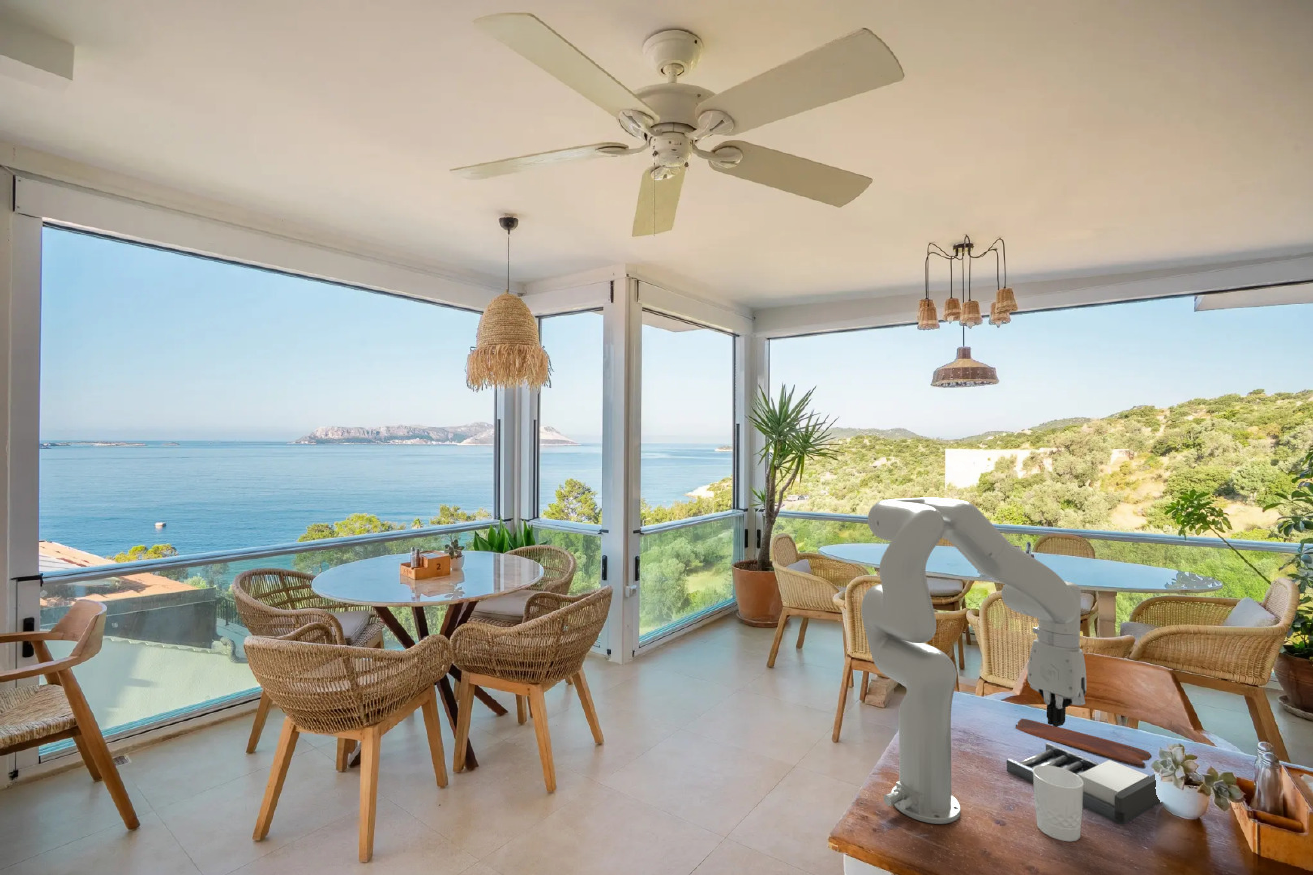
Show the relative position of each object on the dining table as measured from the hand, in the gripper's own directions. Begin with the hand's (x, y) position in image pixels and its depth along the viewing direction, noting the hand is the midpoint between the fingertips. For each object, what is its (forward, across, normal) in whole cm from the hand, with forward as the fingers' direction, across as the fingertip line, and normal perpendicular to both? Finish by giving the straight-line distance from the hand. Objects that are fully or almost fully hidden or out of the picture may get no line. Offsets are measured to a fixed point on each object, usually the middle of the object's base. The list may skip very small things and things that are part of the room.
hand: (1055, 724), depth 131 cm
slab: (+9, +10, +2) cm, 14 cm away
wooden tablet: (+11, -6, +22) cm, 26 cm away
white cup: (+12, +11, -18) cm, 24 cm away
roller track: (+11, +4, +2) cm, 12 cm away
